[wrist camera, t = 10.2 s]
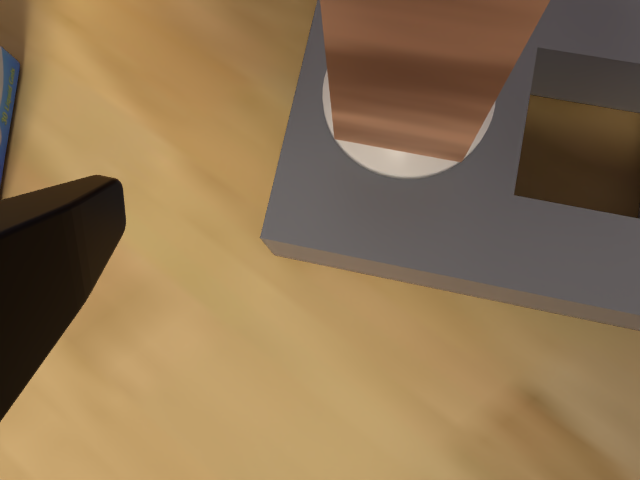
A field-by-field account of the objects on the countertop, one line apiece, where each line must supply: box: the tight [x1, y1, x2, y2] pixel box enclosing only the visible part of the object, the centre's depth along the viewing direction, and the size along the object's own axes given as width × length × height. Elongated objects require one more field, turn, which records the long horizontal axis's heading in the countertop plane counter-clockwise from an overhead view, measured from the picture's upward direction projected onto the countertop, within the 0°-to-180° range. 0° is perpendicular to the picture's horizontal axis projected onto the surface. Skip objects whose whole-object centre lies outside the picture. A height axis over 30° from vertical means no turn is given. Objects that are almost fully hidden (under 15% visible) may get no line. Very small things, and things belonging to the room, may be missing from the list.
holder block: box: [260, 0, 640, 331], centre depth 21 cm, size 12×22×4 cm, turn 78°
